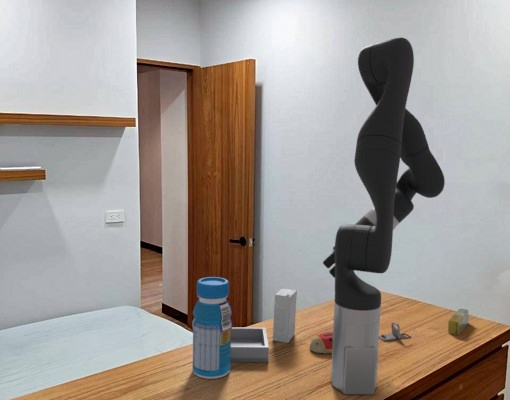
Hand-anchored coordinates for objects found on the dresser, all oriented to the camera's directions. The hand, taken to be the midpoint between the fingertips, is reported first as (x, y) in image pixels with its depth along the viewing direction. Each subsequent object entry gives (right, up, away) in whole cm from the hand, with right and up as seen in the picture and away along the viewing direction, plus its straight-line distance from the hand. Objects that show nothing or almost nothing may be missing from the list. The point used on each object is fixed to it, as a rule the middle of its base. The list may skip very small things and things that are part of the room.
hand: (328, 270), depth 123 cm
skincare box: (-11, -18, +1) cm, 21 cm away
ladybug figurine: (-1, -19, -4) cm, 19 cm away
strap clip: (+18, -18, +4) cm, 26 cm away
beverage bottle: (-28, -19, -18) cm, 38 cm away
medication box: (+38, -18, +12) cm, 43 cm away
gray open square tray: (-22, -18, -7) cm, 29 cm away
